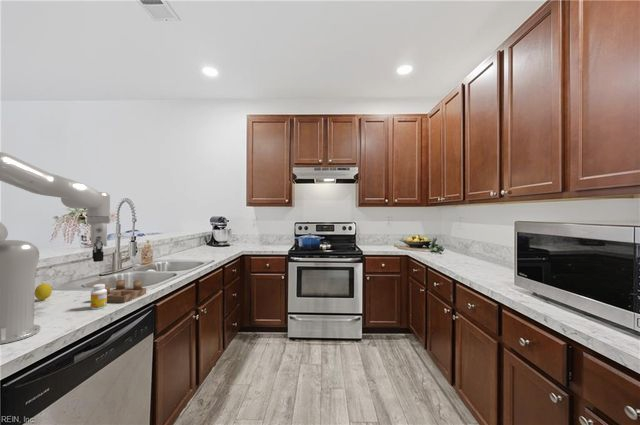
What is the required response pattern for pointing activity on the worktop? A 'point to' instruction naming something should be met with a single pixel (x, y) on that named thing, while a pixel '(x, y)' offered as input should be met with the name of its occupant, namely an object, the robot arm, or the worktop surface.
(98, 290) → the supplement bottle
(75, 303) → the worktop surface
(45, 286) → the lemon
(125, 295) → the brown wooden compartment tray
